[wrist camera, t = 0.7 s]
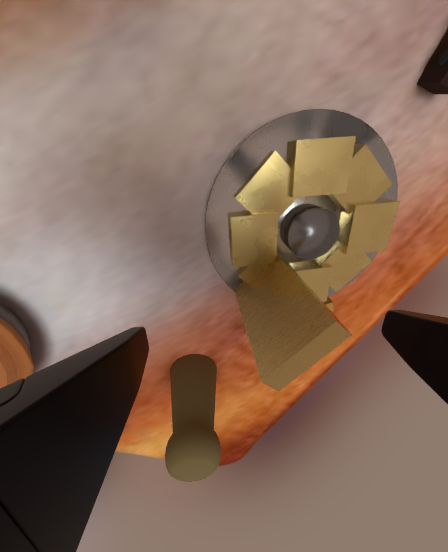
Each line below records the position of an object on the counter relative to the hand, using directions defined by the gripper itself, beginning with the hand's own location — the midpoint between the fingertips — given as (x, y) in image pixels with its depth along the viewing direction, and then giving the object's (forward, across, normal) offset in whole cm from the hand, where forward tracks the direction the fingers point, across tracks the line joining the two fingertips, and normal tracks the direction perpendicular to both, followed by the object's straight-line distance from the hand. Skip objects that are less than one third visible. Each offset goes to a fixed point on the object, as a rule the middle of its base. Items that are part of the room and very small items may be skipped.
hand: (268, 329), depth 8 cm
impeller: (+15, +7, +1) cm, 16 cm away
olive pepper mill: (+16, -5, -18) cm, 24 cm away
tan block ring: (+13, +6, 0) cm, 15 cm away
